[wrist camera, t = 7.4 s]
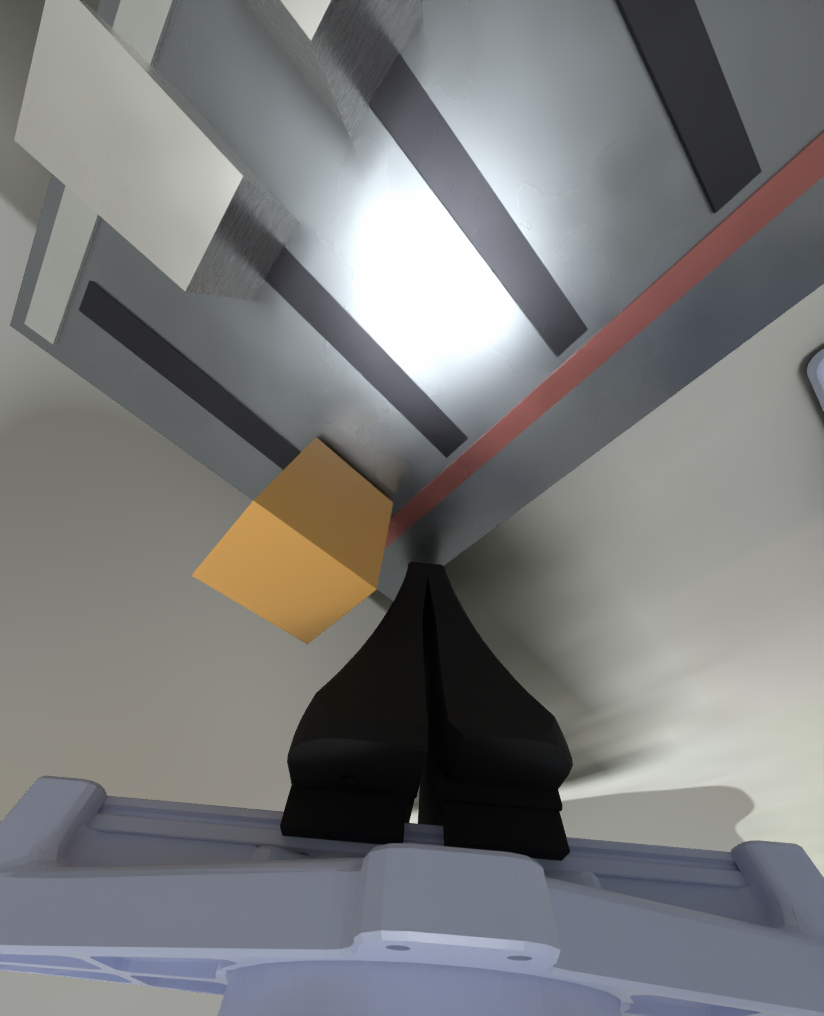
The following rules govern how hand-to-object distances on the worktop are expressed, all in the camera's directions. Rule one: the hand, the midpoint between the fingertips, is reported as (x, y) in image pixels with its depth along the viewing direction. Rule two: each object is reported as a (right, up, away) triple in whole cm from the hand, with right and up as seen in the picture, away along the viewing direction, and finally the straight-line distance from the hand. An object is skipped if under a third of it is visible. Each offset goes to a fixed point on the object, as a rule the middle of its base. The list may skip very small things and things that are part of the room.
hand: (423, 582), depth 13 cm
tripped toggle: (-3, +3, -1) cm, 5 cm away
